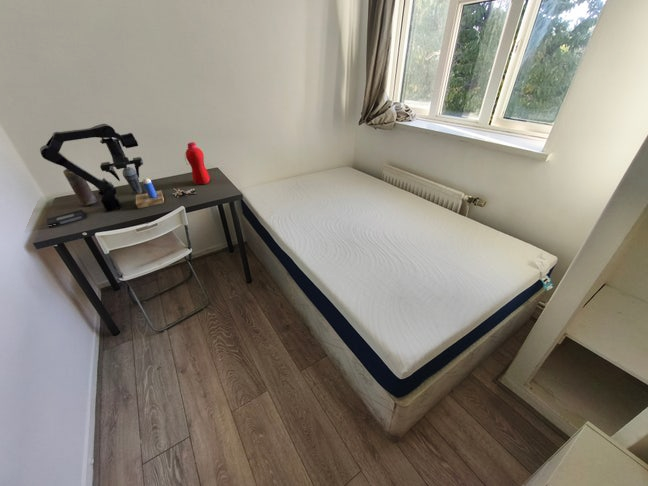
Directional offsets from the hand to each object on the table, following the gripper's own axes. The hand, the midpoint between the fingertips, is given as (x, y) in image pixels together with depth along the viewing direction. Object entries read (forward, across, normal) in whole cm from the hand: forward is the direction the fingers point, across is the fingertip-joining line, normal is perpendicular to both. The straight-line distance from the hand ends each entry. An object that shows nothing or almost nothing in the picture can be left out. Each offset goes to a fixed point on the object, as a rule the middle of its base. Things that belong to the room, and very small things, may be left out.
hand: (129, 179), depth 149 cm
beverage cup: (+13, 0, +12) cm, 18 cm away
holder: (+13, +6, -5) cm, 15 cm away
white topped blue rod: (+13, +8, -6) cm, 16 cm away
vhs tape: (+13, -32, -6) cm, 36 cm away
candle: (+13, -24, +10) cm, 29 cm away
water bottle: (+13, +36, +8) cm, 39 cm away
